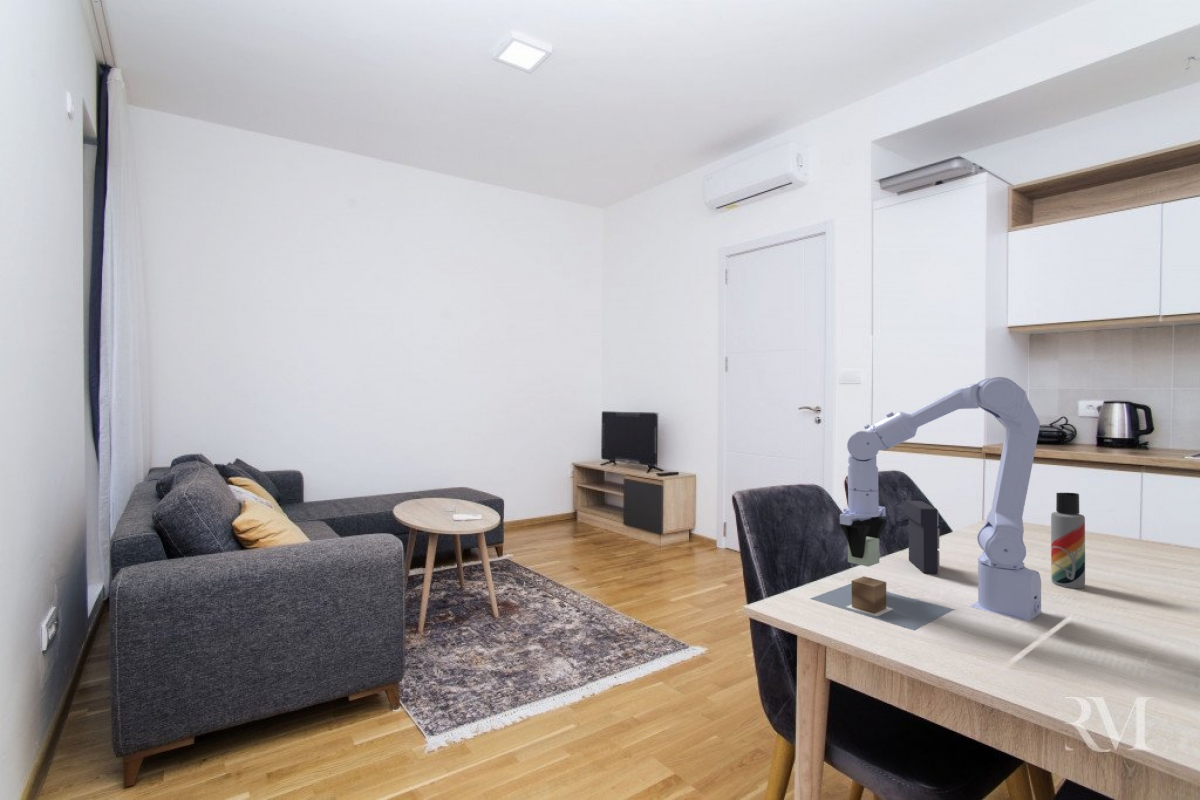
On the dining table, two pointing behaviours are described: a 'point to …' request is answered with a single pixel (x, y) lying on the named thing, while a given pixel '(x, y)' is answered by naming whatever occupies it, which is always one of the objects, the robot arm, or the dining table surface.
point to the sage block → (867, 553)
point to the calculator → (923, 536)
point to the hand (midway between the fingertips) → (863, 555)
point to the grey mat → (889, 608)
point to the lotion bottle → (1068, 542)
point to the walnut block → (869, 594)
